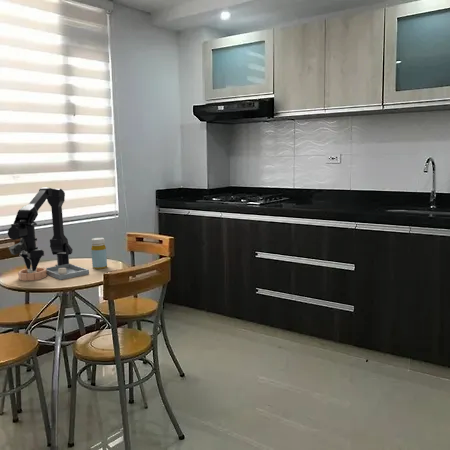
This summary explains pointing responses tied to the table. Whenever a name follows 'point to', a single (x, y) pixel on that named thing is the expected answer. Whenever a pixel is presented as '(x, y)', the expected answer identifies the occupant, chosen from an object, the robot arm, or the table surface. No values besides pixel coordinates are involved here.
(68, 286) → the table surface
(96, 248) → the bottle
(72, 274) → the tray
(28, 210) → the robot arm
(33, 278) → the bowl
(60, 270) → the pebble
